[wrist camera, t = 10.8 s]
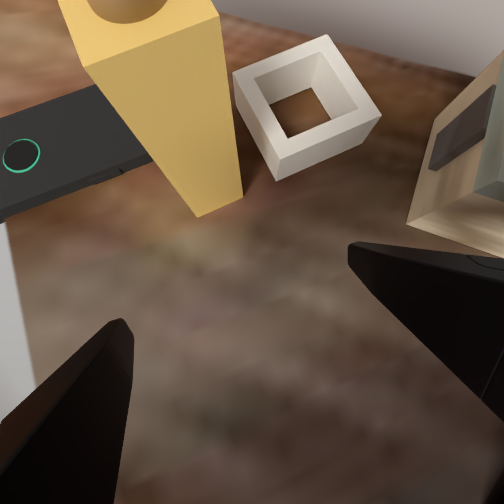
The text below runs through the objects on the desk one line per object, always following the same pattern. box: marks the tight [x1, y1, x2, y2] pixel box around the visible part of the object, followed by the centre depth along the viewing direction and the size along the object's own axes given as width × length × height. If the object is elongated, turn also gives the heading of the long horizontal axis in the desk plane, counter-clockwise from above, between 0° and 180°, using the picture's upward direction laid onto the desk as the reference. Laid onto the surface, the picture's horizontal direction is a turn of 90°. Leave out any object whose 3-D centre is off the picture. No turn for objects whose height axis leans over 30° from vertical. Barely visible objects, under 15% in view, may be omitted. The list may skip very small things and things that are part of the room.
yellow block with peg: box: [58, 0, 243, 218], centre depth 11 cm, size 4×4×14 cm
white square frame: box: [232, 34, 382, 181], centre depth 18 cm, size 8×8×3 cm
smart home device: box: [0, 84, 154, 224], centre depth 19 cm, size 8×2×20 cm
